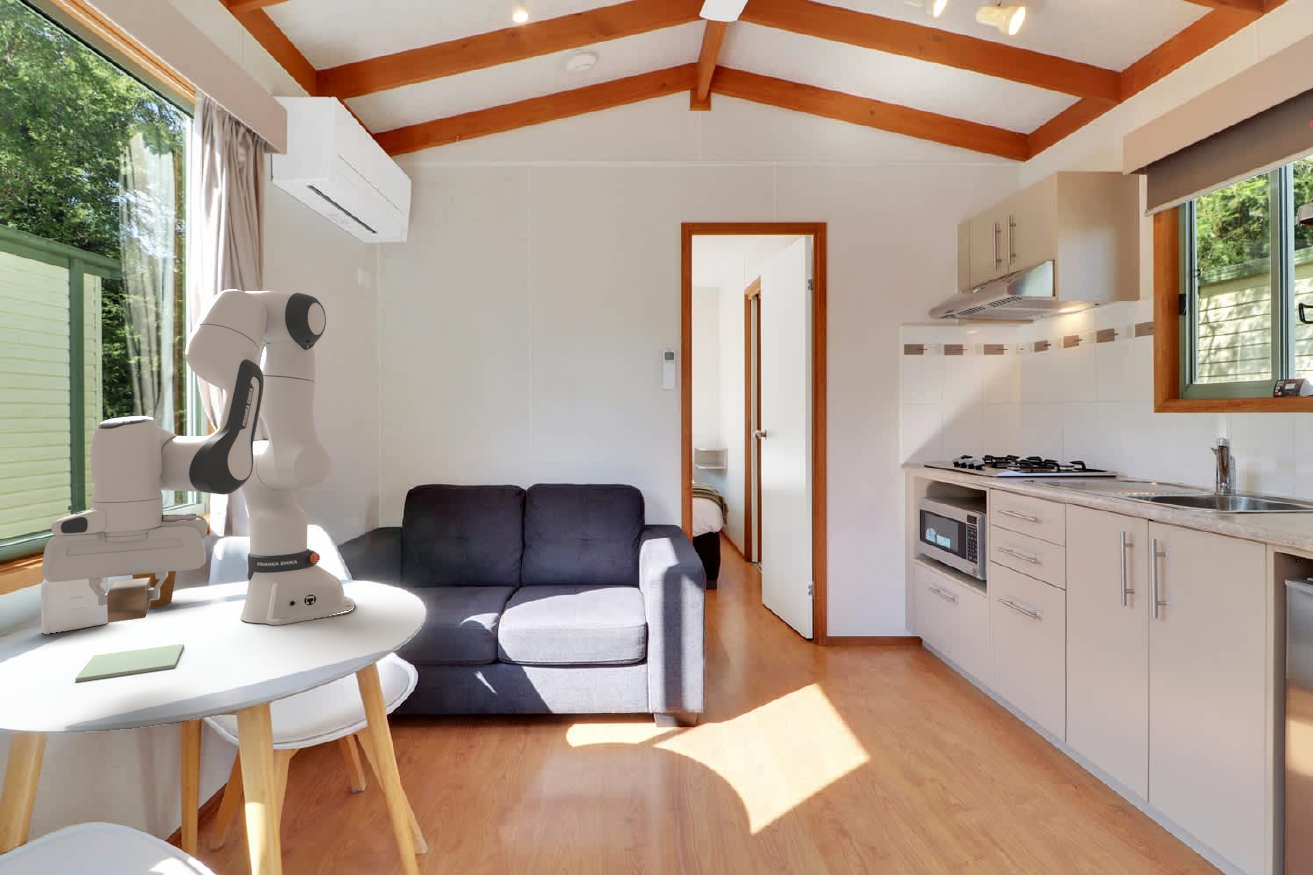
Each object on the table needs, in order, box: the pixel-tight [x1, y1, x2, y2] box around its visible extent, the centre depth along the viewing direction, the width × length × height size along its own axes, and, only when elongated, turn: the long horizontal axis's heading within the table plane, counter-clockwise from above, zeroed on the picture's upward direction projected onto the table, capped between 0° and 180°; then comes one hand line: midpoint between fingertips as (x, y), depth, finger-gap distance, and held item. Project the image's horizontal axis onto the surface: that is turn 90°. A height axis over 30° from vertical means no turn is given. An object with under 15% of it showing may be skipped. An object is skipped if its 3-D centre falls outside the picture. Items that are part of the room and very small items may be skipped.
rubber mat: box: [75, 643, 185, 683], centre depth 112 cm, size 13×12×1 cm
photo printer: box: [40, 577, 109, 635], centre depth 130 cm, size 10×4×12 cm, turn 140°
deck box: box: [107, 578, 151, 624], centre depth 102 cm, size 4×9×4 cm, turn 34°
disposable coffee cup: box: [131, 571, 177, 609], centre depth 148 cm, size 10×10×12 cm
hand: (130, 602), depth 102 cm, fingers closed on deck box, 5 cm apart
